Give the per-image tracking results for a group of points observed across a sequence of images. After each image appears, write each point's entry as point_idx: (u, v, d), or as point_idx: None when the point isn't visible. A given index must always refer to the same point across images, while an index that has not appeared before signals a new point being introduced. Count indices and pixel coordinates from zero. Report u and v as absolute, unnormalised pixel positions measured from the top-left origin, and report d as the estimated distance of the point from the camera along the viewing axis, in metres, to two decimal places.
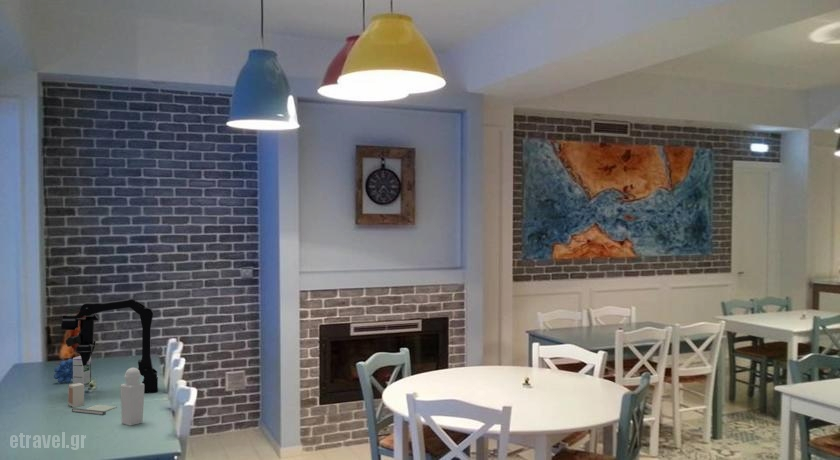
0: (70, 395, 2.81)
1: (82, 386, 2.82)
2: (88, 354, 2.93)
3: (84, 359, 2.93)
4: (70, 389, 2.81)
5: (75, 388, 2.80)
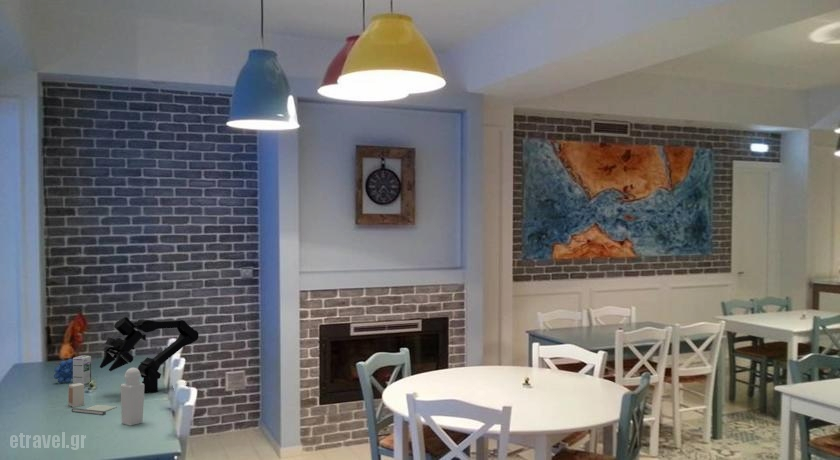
0: (70, 395, 2.81)
1: (82, 386, 2.82)
2: (122, 363, 2.92)
3: (115, 365, 2.90)
4: (70, 389, 2.81)
5: (75, 388, 2.80)
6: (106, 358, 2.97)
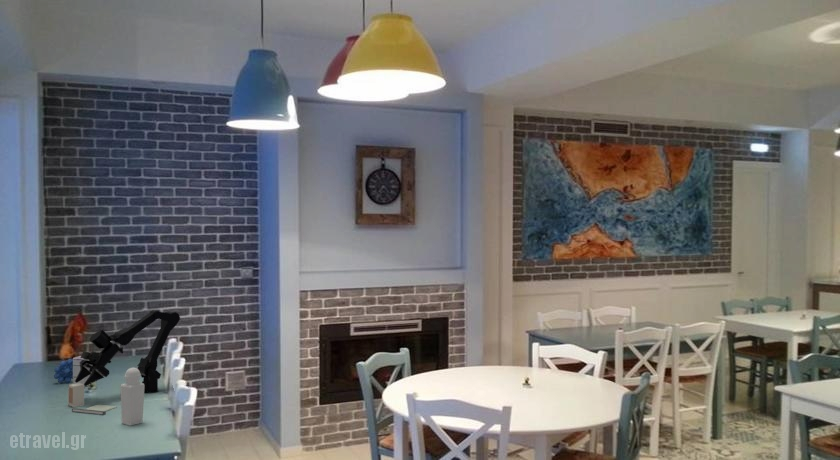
0: (70, 395, 2.81)
1: (82, 386, 2.82)
2: (98, 378, 2.83)
3: (91, 380, 2.82)
4: (70, 389, 2.81)
5: (75, 388, 2.80)
6: (82, 372, 2.89)
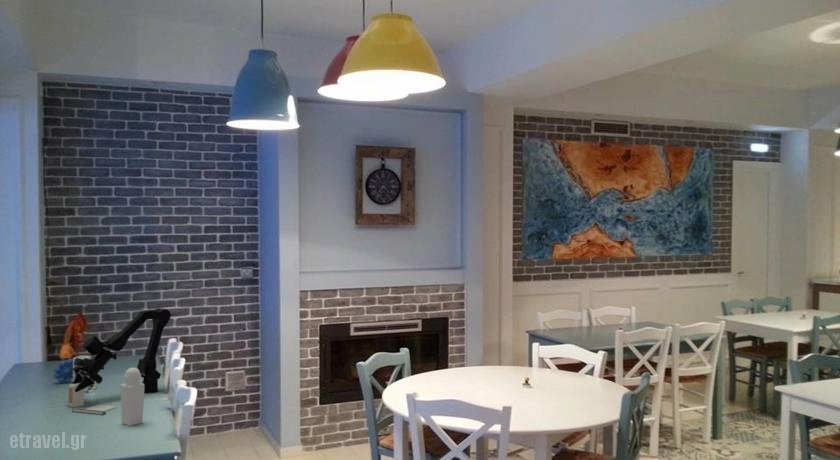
0: (70, 395, 2.81)
1: None
2: (89, 384, 2.83)
3: (81, 386, 2.81)
4: (70, 389, 2.81)
5: (75, 388, 2.80)
6: (77, 380, 2.85)
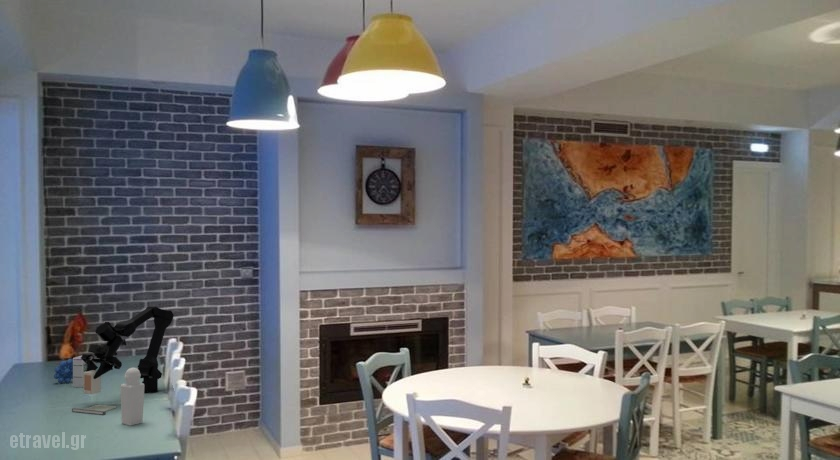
0: (87, 382, 2.75)
1: None
2: (106, 370, 2.79)
3: (100, 372, 2.77)
4: (87, 376, 2.75)
5: (93, 375, 2.75)
6: (90, 367, 2.80)
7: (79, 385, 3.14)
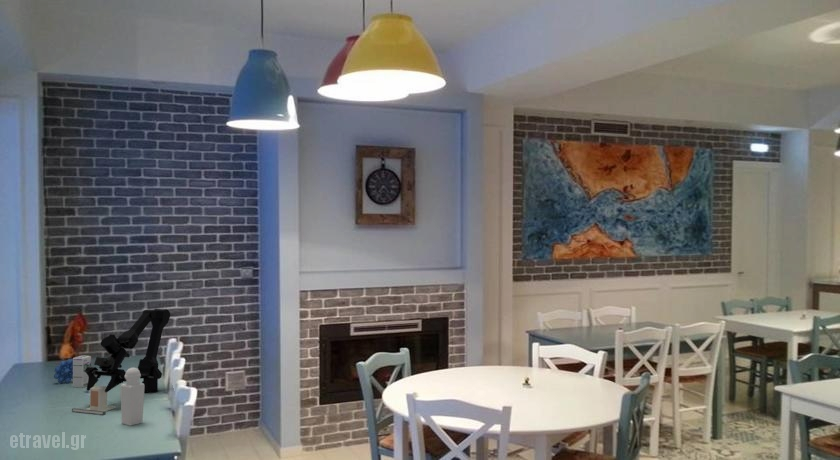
0: (94, 398, 2.74)
1: (105, 388, 2.77)
2: (117, 383, 2.78)
3: (111, 385, 2.76)
4: (94, 392, 2.74)
5: (100, 390, 2.75)
6: (91, 380, 2.79)
7: (79, 385, 3.14)
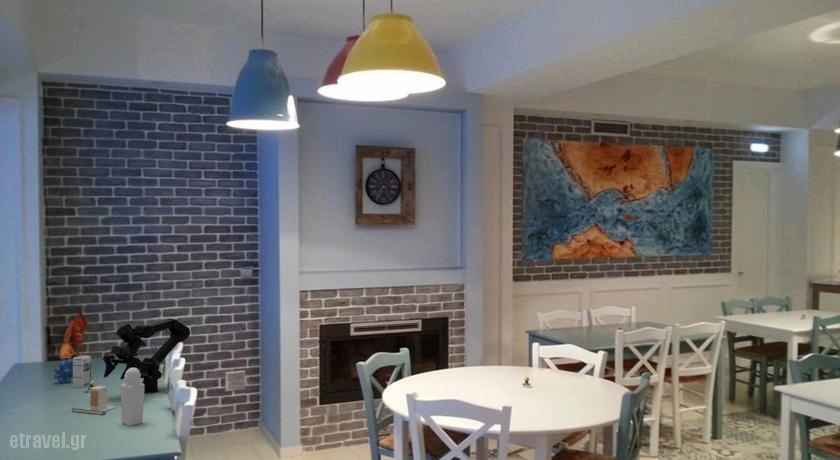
0: (94, 398, 2.74)
1: (105, 388, 2.77)
2: None
3: None
4: (94, 392, 2.74)
5: (100, 390, 2.75)
6: (109, 367, 2.91)
7: (79, 385, 3.14)
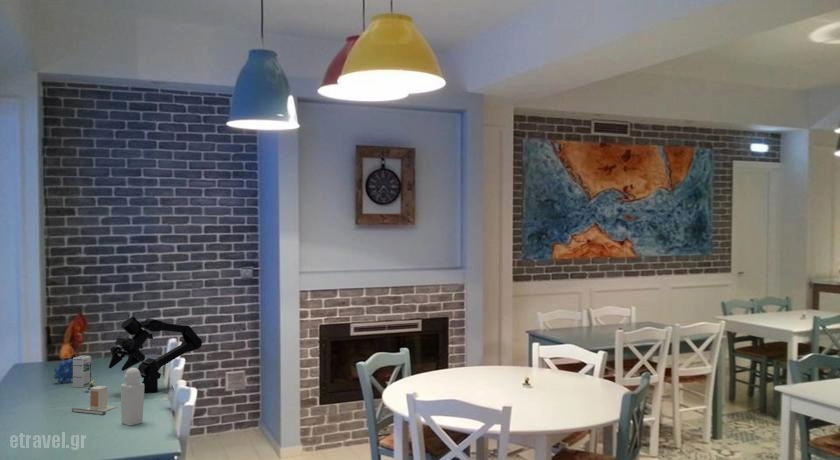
0: (94, 398, 2.74)
1: (105, 388, 2.77)
2: (134, 363, 2.94)
3: (128, 365, 2.92)
4: (94, 392, 2.74)
5: (100, 390, 2.75)
6: (114, 358, 2.98)
7: (79, 385, 3.14)
